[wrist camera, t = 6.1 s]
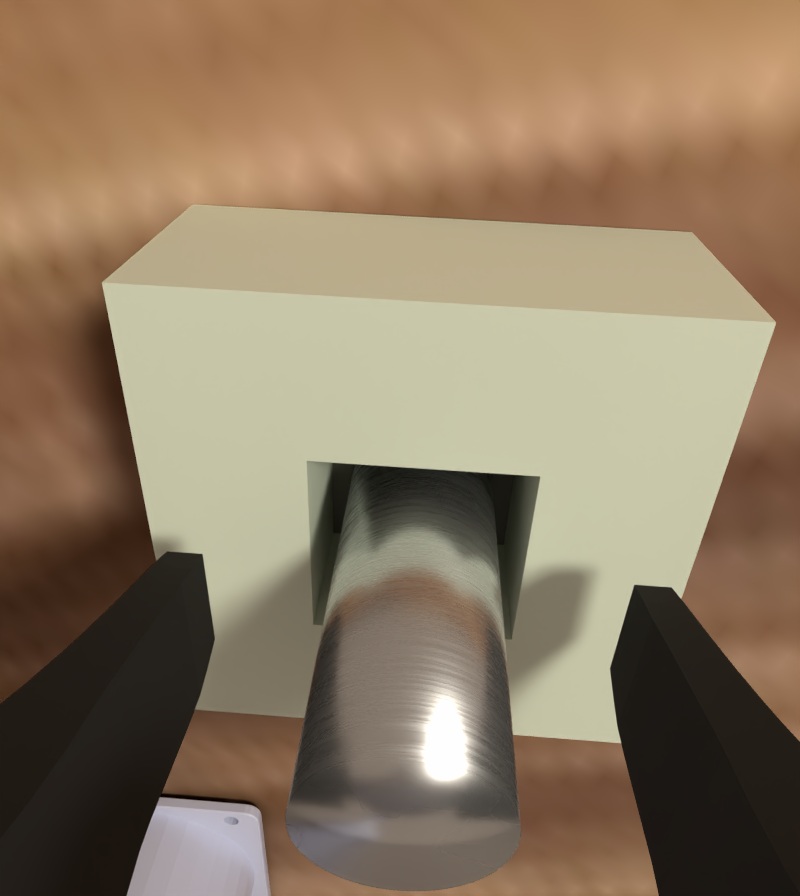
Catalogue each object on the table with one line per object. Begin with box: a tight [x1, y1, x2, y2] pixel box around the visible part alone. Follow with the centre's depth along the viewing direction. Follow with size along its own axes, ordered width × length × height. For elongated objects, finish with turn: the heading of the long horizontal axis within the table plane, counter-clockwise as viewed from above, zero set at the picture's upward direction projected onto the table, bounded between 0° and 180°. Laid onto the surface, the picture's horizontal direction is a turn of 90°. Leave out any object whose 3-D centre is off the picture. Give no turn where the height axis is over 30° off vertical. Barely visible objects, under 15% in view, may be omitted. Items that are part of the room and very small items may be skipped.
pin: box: [285, 464, 521, 891], centre depth 13 cm, size 3×3×8 cm
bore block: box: [102, 204, 776, 743], centre depth 15 cm, size 10×10×4 cm
